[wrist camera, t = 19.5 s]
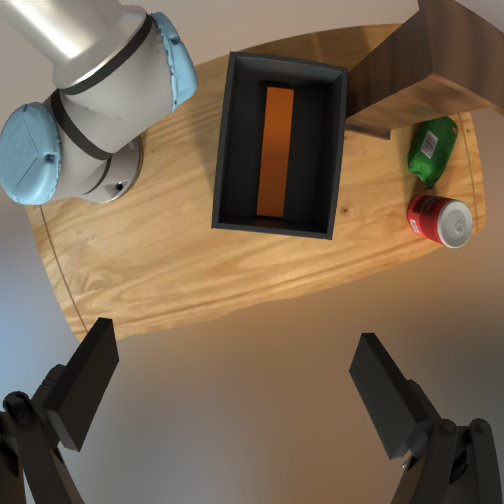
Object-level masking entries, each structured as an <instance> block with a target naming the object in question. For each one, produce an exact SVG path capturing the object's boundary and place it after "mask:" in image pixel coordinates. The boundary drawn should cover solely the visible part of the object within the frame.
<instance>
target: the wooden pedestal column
mask: <svg viewBox="0 0 504 504" xmlns="http://www.w3.org/2000/svg"><path fill="white" fill-rule="evenodd" d="M418 4H419V11H418V12H417V13H415V14H414V15H413V16H412V17H411V18H410V19H408V20H407V21H406V22H405V23H404V24H402V25H401V26H400V27H399V28H398V29H397V30H396V31H394V32H393V33H392V34H391V35H390V36H389V37H388V38H386V39H385V40H384V41H383V42H382V43H381V44H380V45H379V46H377V47H376V48H375V49H374V50H373V51H372V52H371V53H370V54H369V55H368V56H366V57H365V58H364V59H363V60H362V61H361V62H360V63H359V64H358V65H357V66H356V67H355V68H354V69H352V70H351V71H350V72H349V73H348V78H347V100H346V116H345V130H344V131H349V132H354V133H359V134H363V135H367V136H372V137H376V138H380V139H384V140H390V132H391V130H393V129H396V128H400V127H404V126H407V125H411V124H415V123H419V122H423V121H427V120H431V119H435V118H440V117H444V116H448V115H453V114H458V113H462V112H467V111H472V110H477V109H482V108H487V107H490V108H492V109H493V110H495V111H497V112H498V113H500V114H502V115H503V116H504V33H503V32H501V31H500V30H499V29H497V28H496V27H494V26H493V25H492V24H490V23H489V22H487V21H486V20H485V19H483V18H481V17H480V16H479V15H477V14H476V13H474V12H472V11H471V10H469V9H467V8H466V7H464V6H463V5H461V4H459V3H458V2H456V1H454V0H418Z"/></svg>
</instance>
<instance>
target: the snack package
mask: <svg viewBox="0 0 504 504" xmlns="http://www.w3.org/2000/svg"><path fill="white" fill-rule="evenodd" d="M457 134H458V128H457V125H456V124H455V122H454V121H453V120H452V119H451V118H449V117H448V116H444V117H440V118H435V119H431V120H427V121H423V122H421V125H420V127H419V130H418V131H417V133H416V135H415V138H414V140H413V143H412V145H411V148H410V150H409V153H408V157H407V161H408V168H409V171H410V172H411V173H413V174H415V175H417V176H419V177H420V179H421V180H422V181H423V182H424V183H425V185H426V189H427V190H429V189H433V186H434V184H435V182H436V181H438V180H439V178H440V177H441V175H442V174H443V172H444V170H445V168H446V165H447V163H448V160H449V157H450V155H451V152H452V150H453V147H454V144H455V141H456V138H457ZM426 189H425V190H426Z"/></svg>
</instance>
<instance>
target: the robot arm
mask: <svg viewBox="0 0 504 504" xmlns="http://www.w3.org/2000/svg"><path fill="white" fill-rule="evenodd" d="M0 19H1V20H2V21H4V22H5V23H6V24H7V25H8V26H9V27H11V28H12V29H13V30H14V31H15V32H17V33H18V34H19V35H20V36H21V37H23V38H24V39H25V40H26V41H27V42H28V43H29V44H31V45H32V46H33V47H34V48H35V49H37V50H38V51H39V52H40V53H41V54H42V55H44V56H45V57H46V58H47V59H48V60H49V61H51V62H52V63H53V79H52V81H53V84H54V85H55V86H56V87H57V89H56V90H55V91H54V92H53V93H52V94H51V95H50V97H48V99H46V100H45V101H44V102H43V103H42V104H41V103H38V102H33V103H30V104H25V105H22V106H20V107H19V108H17V109H16V110H15V111H14V112H13V113H12V114H11V115H10V117H9V118H8V120H7V121H6V123H5V125H4V127H3V129H2V132H1V135H0V181H1V184H2V186H3V188H4V190H5V191H6V193H7V194H8V195H9V197H10V198H12V199H13V200H14V201H16V202H19V203H21V204H36V205H40V204H44V203H46V202H49V201H54V200H59V199H65V198H70V197H75V196H78V197H80V198H82V199H84V200H86V201H88V202H92V203H105V202H110V201H113V200H116V199H118V198H120V197H121V196H123V195H124V194H125V193H127V192H128V191H129V190H130V189H131V187H132V186H133V185H134V183H135V182H136V180H137V178H138V176H139V174H140V171H141V168H142V163H143V146H142V142H141V139H140V136H139V134H141V133H142V132H143V131H145V130H146V129H147V128H149V127H150V126H152V125H153V124H154V123H156V122H157V121H159V120H160V119H161V118H163V117H164V116H166V115H167V114H169V113H172V112H173V111H175V109H176V107H178V106H179V105H180V104H182V103H183V102H185V101H186V100H187V99H189V98H190V97H191V96H192V95H193V94H194V93H195V91H196V89H197V85H198V80H197V75H196V71H195V68H194V66H193V63H192V61H191V58H190V56H189V54H188V52H187V49H186V48H185V46H184V44H183V42H182V41H181V40H180V37H179V36H178V33H177V31H176V29H175V28H174V26H173V24H172V23H171V21H170V20H169V19H168V18H167V17H166V16H165V15H164V14H163V13H161V12H156V13H151V14H149V15H148V14H147V12H146V11H145V10H144V8H142V7H141V6H134V5H121V4H120V3H119V1H118V0H0ZM118 362H119V356H118V351H117V345H116V340H115V334H114V328H113V322H112V319H108V318H101V317H99V318H98V320H97V321H96V322H95V324H94V325H93V327H92V328H91V330H90V331H89V332H88V334H87V335H86V337H85V338H84V340H83V341H82V343H81V344H80V346H79V347H78V348H77V350H76V352H75V353H74V354H73V356H72V357H71V359H70V361H69V362H68V364H67V365H66V366H64V365H60V364H58V365H56V366H55V367H54V368H52V369H51V370H50V371H49V373H48V374H47V376H46V378H45V379H44V380H43V382H42V385H40V386H39V388H38V389H37V391H36V392H35V394H34V395H33V397H32V399H31V400H30V399H29V397H28V395H27V394H25V393H24V392H20V391H16V392H12V393H9V394H8V395H7V396H6V397H5V399H4V401H3V408H4V409H5V411H6V412H1V411H0V504H26V496H25V488H24V477H23V469H24V473H25V476H26V479H27V482H28V485H29V487H30V490H31V492H32V496H33V498H34V501H35V503H36V504H85V503H84V502H83V500H82V498H81V496H80V494H79V492H78V490H77V488H76V486H75V484H74V482H73V480H72V478H71V476H70V474H69V471H68V469H67V467H66V465H65V463H64V460H63V458H62V455H61V453H60V450H59V449H58V447H57V446H58V443H59V441H61V443H62V444H63V446H64V447H65V448H68V449H71V450H74V451H77V452H80V450H81V448H82V445H83V443H84V440H85V437H86V435H87V432H88V430H89V428H90V425H91V423H92V420H93V418H94V415H95V413H96V411H97V408H98V406H99V404H100V402H101V399H102V397H103V395H104V392H105V390H106V388H107V386H108V383H109V381H110V379H111V377H112V375H113V372H114V370H115V368H116V366H117V364H118ZM349 373H350V375H351V377H352V379H353V381H354V383H355V385H356V387H357V390H358V392H359V394H360V396H361V398H362V400H363V402H364V405H365V407H366V409H367V411H368V413H369V415H370V417H371V419H372V422H373V424H374V426H375V428H376V430H377V433H378V435H379V437H380V439H381V441H382V444H383V446H384V448H385V450H386V452H387V455H388V457H389V460H391V459H395V458H399V457H402V456H404V455H405V454H406V452H407V451H408V450H409V449H410V451H411V453H412V454H411V456H410V457H409V458H408V459H407V460H406V462H405V463H404V464H403V466H402V467H404V466H405V465H406V464H407V465H406V468H405V470H404V473H403V476H402V478H401V480H400V483H399V485H398V488H397V490H396V492H395V495H394V497H393V499H392V501H391V503H390V504H502V492H501V483H500V474H499V467H498V461H497V455H496V450H495V445H494V439H493V435H492V430H491V427H490V425H489V423H488V422H487V421H485V420H484V419H480V418H477V419H474V420H472V422H471V423H470V425H469V426H456V424H455V423H454V422H452V421H450V420H448V419H442V418H441V417H440V415H439V414H438V412H437V411H436V409H435V408H434V406H433V405H432V403H431V402H430V400H428V398H427V396H426V394H424V392H423V390H422V389H421V387H420V386H419V385H418V384H417V383H416V382H414V381H413V380H412V379H411V380H406V379H405V377H404V376H403V374H402V373H401V371H400V370H399V368H398V367H397V366H396V364H395V362H394V361H393V360H392V358H391V357H390V355H389V354H388V352H387V351H386V350H385V348H384V347H383V345H382V344H381V342H380V341H379V339H378V338H377V336H376V335H375V334H374V333H362V334H361V337H360V341H359V344H358V346H357V349H356V352H355V355H354V358H353V361H352V364H351V367H350V369H349Z"/></svg>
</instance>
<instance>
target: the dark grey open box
mask: <svg viewBox="0 0 504 504" xmlns="http://www.w3.org/2000/svg"><path fill="white" fill-rule="evenodd" d="M347 78H348V69H347V68H342V67H338V66H333V65H329V64H324V63H319V62H314V61H308V60H302V59H296V58H290V57H283V56H275V55H266V54H256V53H245V52H230V56H229V64H228V71H227V78H226V86H225V94H224V102H223V110H222V119H221V128H220V137H219V146H218V156H217V166H216V177H215V188H214V199H213V212H212V225H211V228H213V229H225V230H236V231H247V232H258V233H268V234H278V235H288V236H298V237H308V238H318V239H327V240H332V235H333V228H334V221H335V214H336V207H337V199H338V191H339V182H340V173H341V164H342V153H343V142H344V130H345V116H346V100H347ZM267 87H274V88H283V89H291V90H294V93H293V107H292V120H291V133H290V145H289V157H288V168H287V179H286V190H285V200H284V210H283V217H275V216H263V215H256V206H257V194H258V183H259V172H260V160H261V149H262V137H263V126H264V114H265V103H266V91H267Z"/></svg>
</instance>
